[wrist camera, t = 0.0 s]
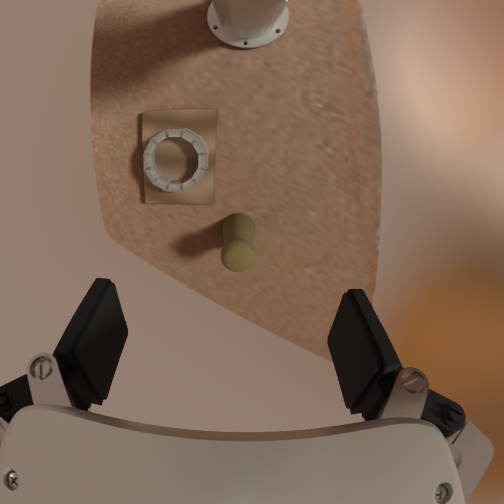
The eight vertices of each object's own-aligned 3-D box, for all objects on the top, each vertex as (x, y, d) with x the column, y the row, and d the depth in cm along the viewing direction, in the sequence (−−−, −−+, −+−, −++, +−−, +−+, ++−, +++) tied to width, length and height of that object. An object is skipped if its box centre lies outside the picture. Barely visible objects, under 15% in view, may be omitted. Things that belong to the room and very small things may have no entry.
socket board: (145, 111, 37) (137, 112, 34) (217, 109, 38) (215, 109, 35) (148, 200, 46) (140, 208, 42) (213, 201, 46) (211, 210, 43)
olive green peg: (218, 239, 50) (213, 274, 41) (225, 210, 47) (221, 239, 38) (250, 246, 51) (252, 281, 42) (258, 217, 48) (263, 248, 39)
